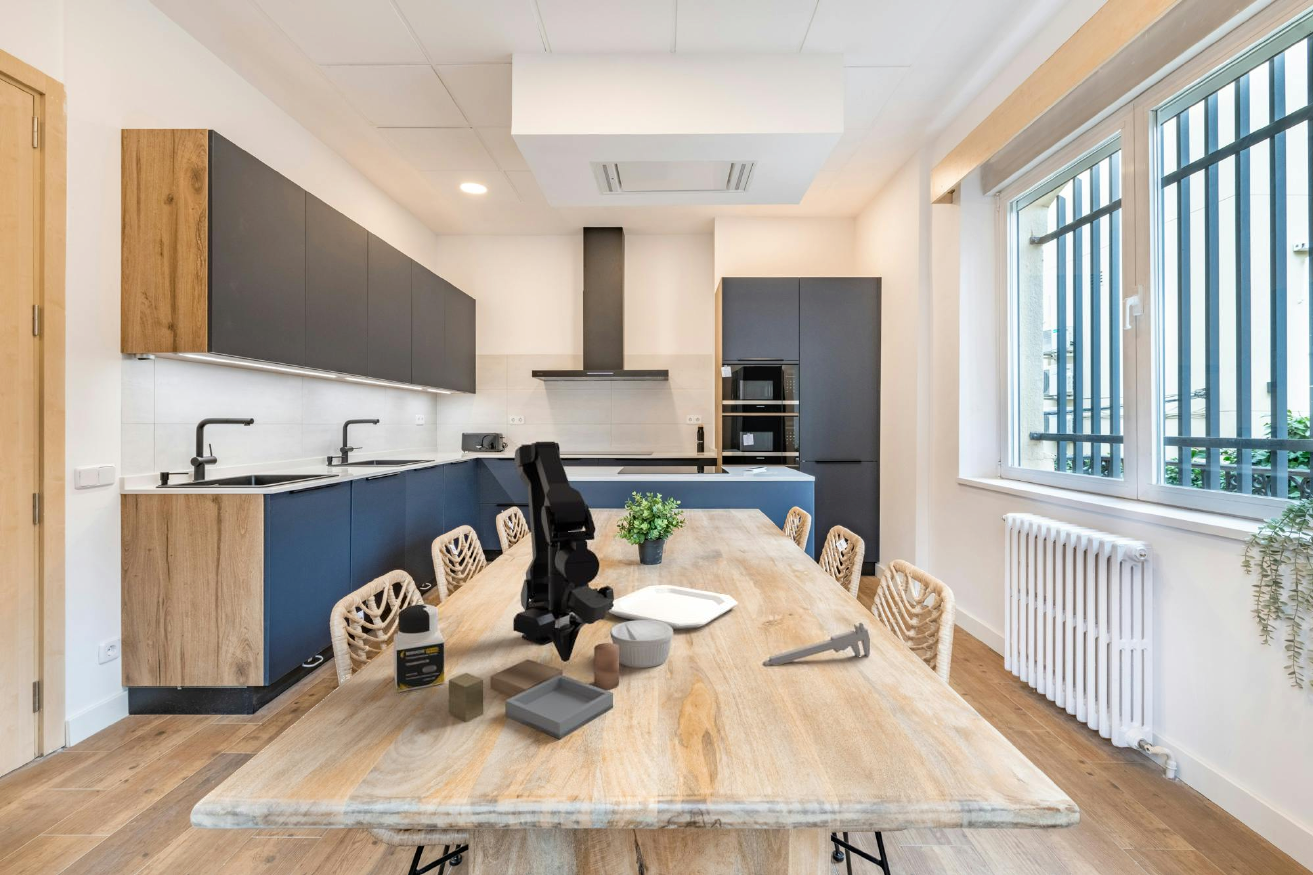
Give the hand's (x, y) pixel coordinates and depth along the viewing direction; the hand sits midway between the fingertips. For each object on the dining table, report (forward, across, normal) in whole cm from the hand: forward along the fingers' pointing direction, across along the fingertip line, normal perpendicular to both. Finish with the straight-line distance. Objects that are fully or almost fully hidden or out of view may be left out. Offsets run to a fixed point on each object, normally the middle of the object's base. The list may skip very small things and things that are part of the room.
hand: (565, 660), depth 101 cm
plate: (+2, +37, +3) cm, 37 cm away
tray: (+1, -12, -10) cm, 16 cm away
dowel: (+1, -1, -10) cm, 10 cm away
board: (+2, -9, 0) cm, 9 cm away
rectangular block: (+1, -20, 0) cm, 20 cm away
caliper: (+2, +29, -34) cm, 45 cm away
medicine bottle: (+2, -18, +16) cm, 24 cm away
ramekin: (+2, +11, -8) cm, 14 cm away
